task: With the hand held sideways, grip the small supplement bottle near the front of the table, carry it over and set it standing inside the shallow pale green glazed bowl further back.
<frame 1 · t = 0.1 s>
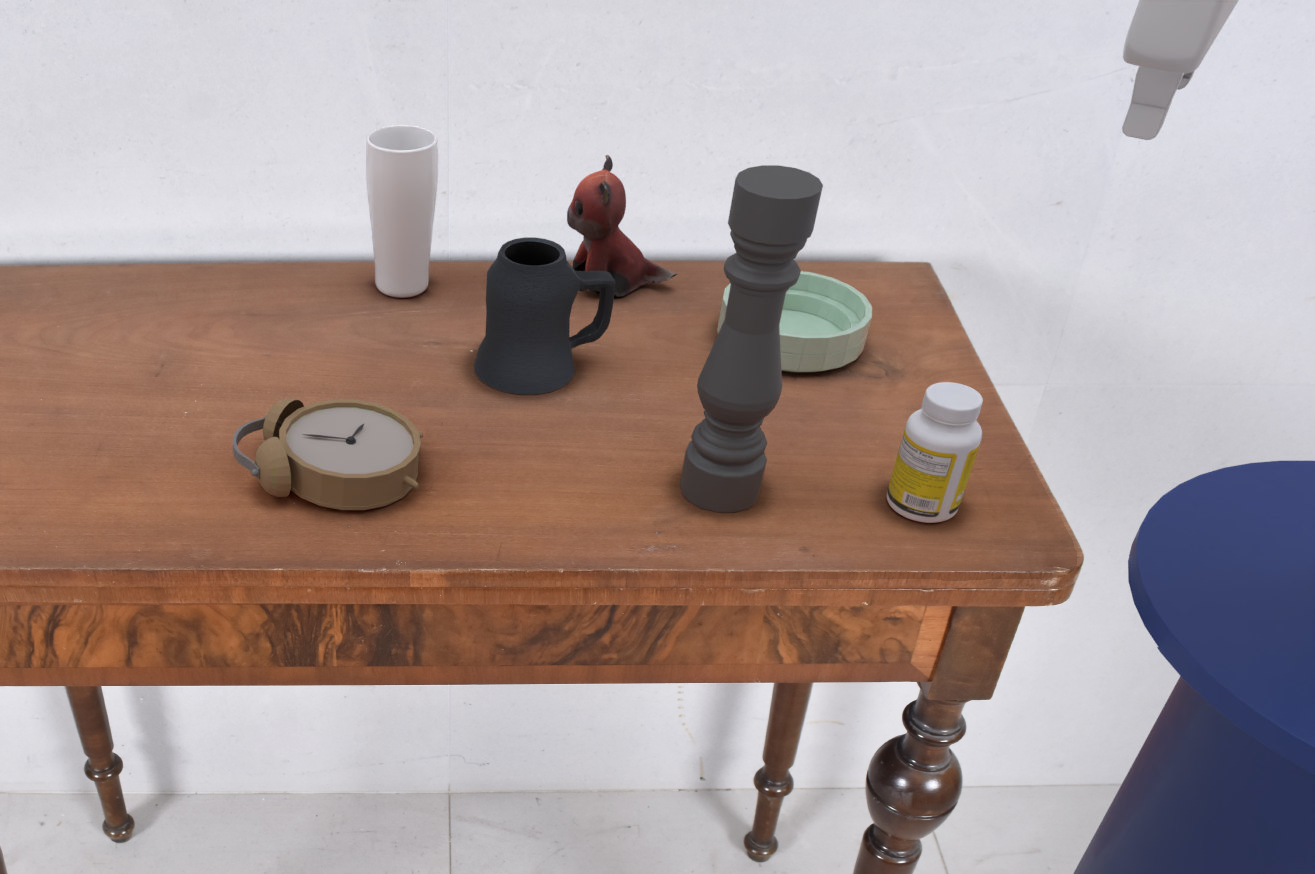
hand: (1155, 108, 73), 33 cm above the table, tool pointing down, fingers open, 8 cm apart
alarm clock: (328, 474, 104), on the table
drinking glass: (402, 289, 128), on the table
stuffed fox: (617, 288, 128), on the table
mug: (539, 368, 117), on the table
candle holder: (719, 491, 102), on the table
supplement bottle: (919, 506, 100), on the table
bowl: (788, 341, 120), on the table
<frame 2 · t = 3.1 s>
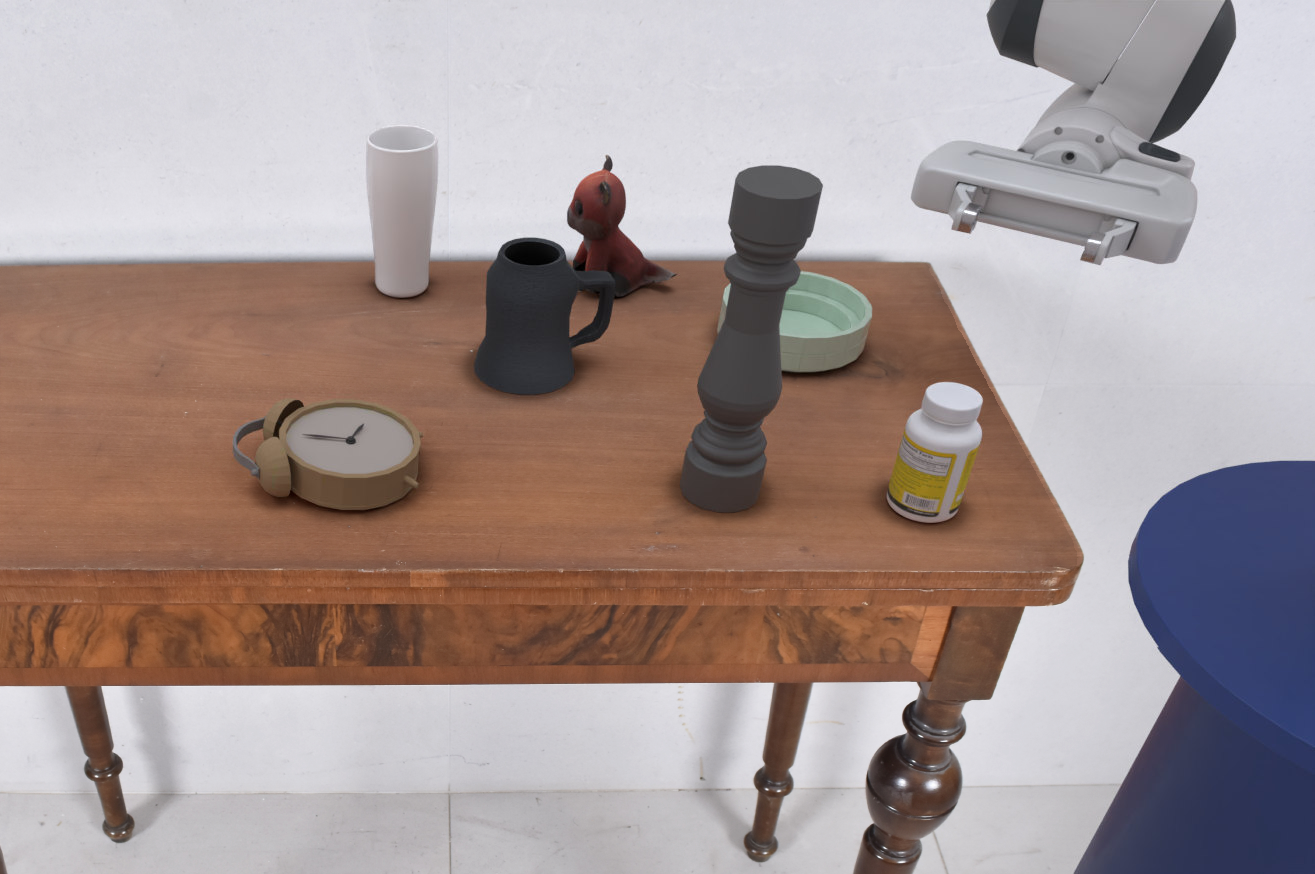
hand: (1026, 237, 97), 17 cm above the table, tool horizontal, fingers open, 8 cm apart
nothing on the table moved.
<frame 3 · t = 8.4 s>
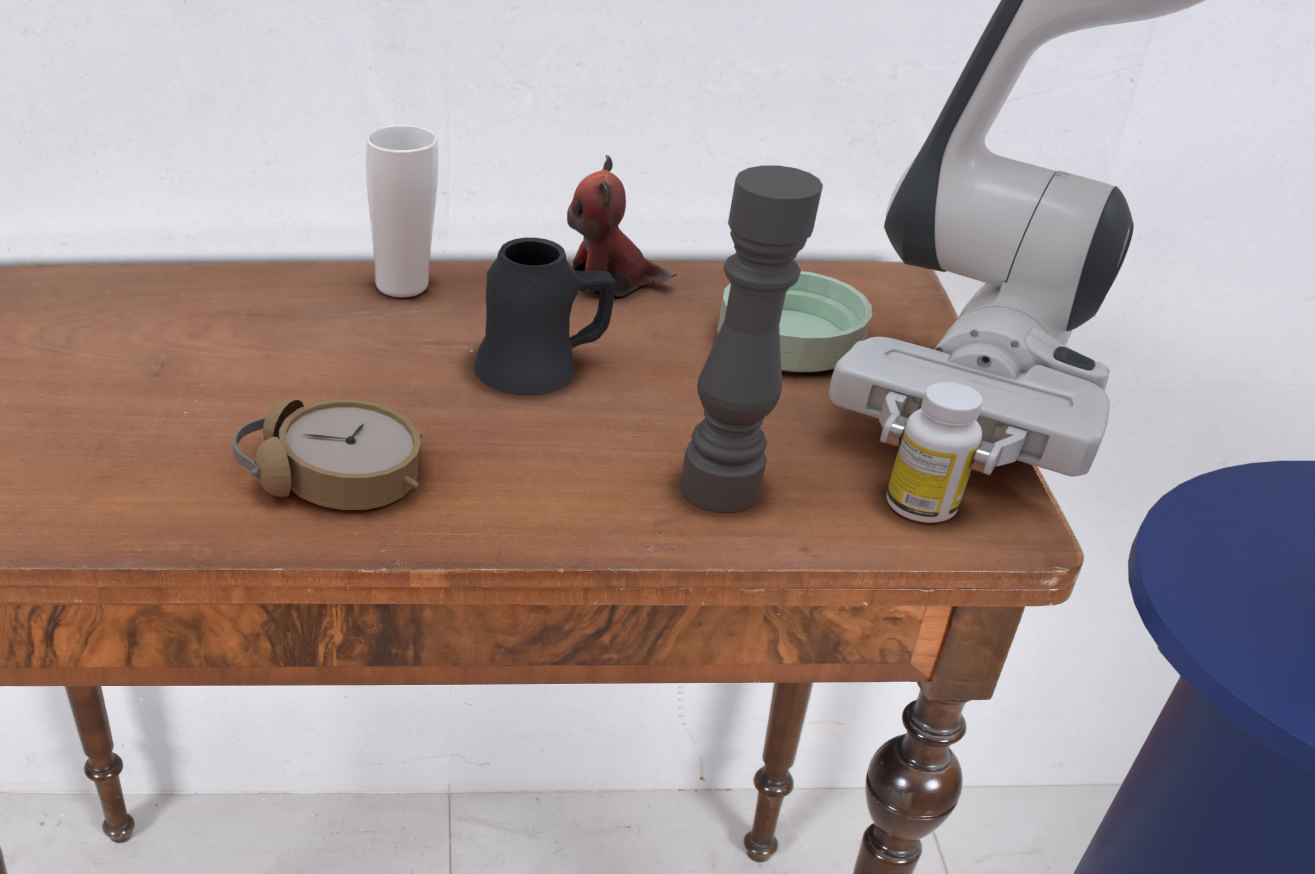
hand: (936, 450, 96), 6 cm above the table, tool horizontal, fingers closed on supplement bottle, 5 cm apart
supplement bottle: (919, 506, 100), on the table, touching gripper
everything else where it was.
when the fingers open (6 cm above the table, at t = 17.5 s): supplement bottle stays where it is, resting on bowl.
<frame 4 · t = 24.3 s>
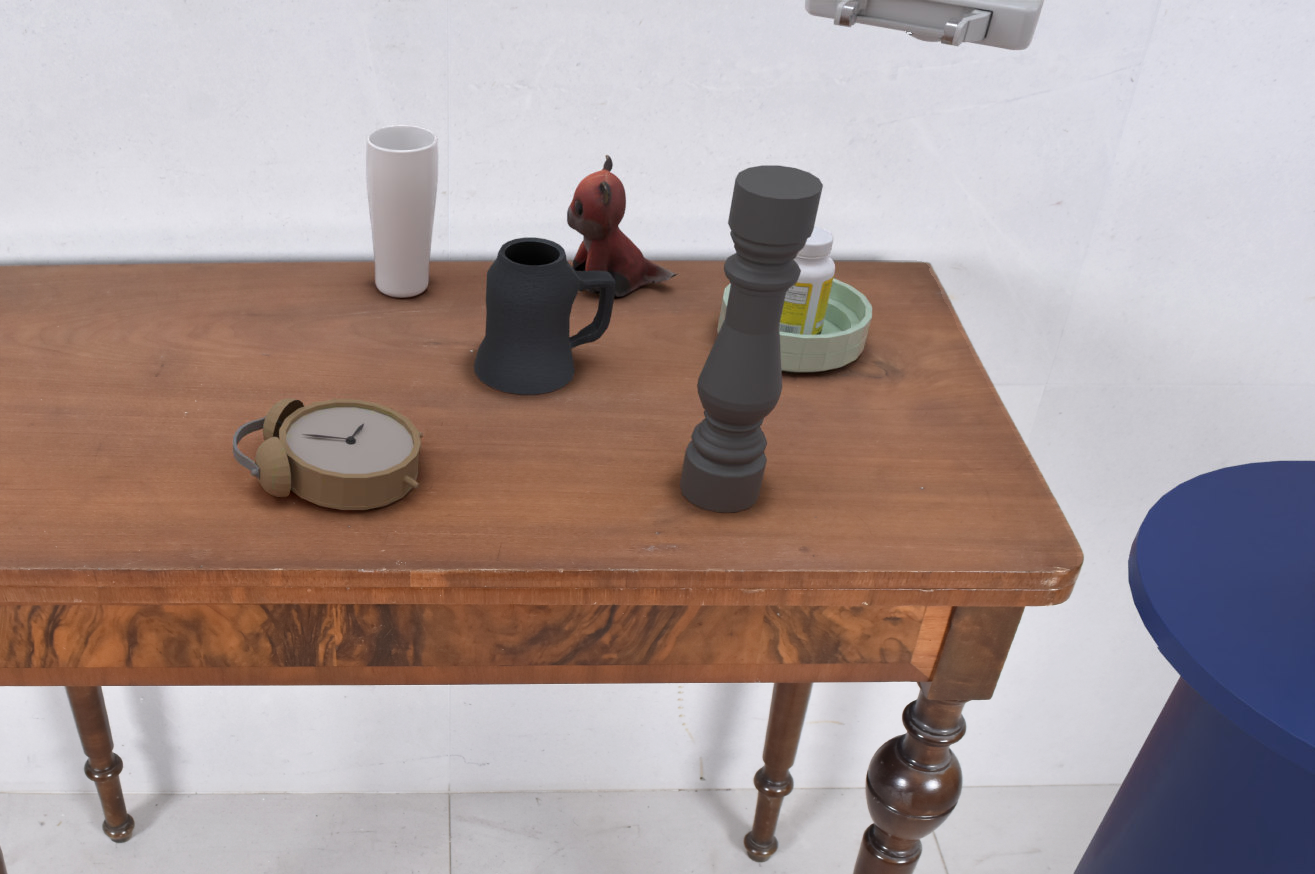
hand: (896, 25, 111), 25 cm above the table, tool horizontal, fingers open, 8 cm apart
supplement bottle: (789, 336, 120), resting on bowl
everything else where it was.
at the end: supplement bottle inside the target area in the bowl (0.1 cm from its centre), point 0.4 cm above the bowl's base; supplement bottle tilted 0°; the gripper is holding nothing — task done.
